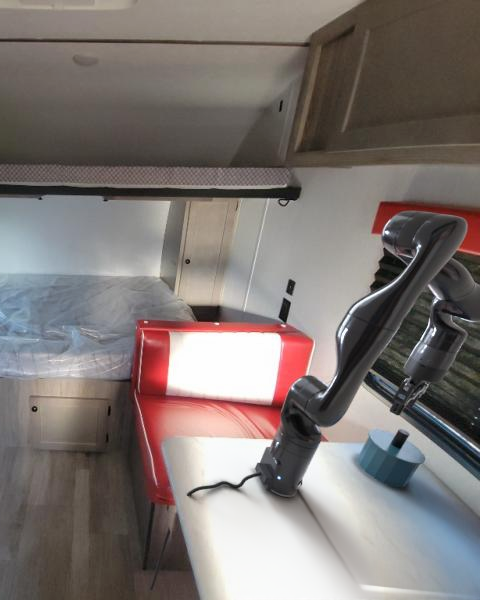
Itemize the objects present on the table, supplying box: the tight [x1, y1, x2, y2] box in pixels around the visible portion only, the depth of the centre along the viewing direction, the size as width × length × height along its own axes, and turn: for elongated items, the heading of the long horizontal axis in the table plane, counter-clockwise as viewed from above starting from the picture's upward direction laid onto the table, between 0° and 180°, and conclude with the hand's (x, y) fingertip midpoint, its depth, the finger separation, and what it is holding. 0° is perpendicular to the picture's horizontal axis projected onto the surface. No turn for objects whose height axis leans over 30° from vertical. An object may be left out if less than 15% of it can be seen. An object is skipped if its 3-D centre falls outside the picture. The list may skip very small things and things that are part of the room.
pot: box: [356, 436, 421, 488], centre depth 99 cm, size 12×12×10 cm
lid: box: [368, 428, 426, 465], centre depth 96 cm, size 13×13×6 cm
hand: (400, 409), depth 94 cm, fingers open, 8 cm apart
